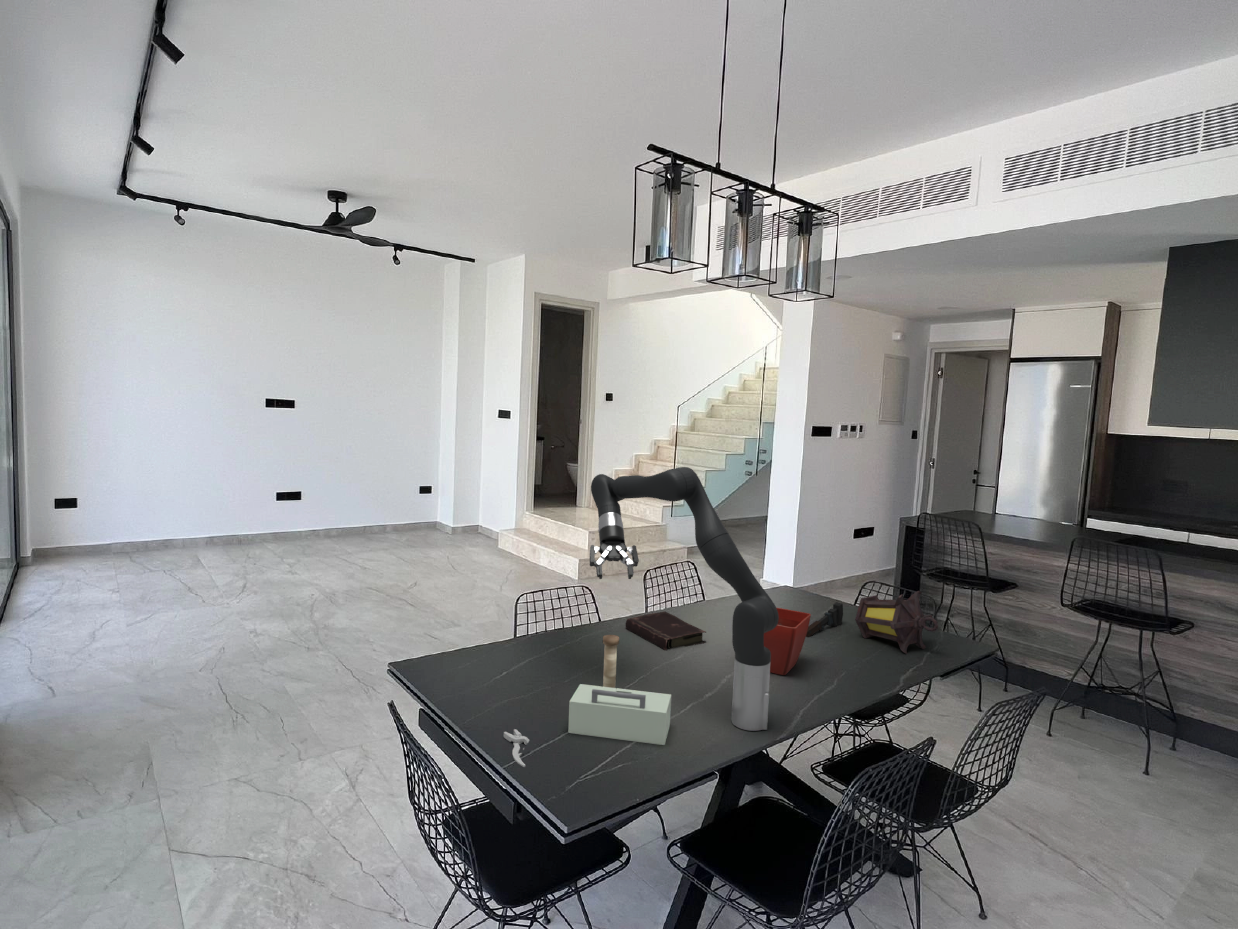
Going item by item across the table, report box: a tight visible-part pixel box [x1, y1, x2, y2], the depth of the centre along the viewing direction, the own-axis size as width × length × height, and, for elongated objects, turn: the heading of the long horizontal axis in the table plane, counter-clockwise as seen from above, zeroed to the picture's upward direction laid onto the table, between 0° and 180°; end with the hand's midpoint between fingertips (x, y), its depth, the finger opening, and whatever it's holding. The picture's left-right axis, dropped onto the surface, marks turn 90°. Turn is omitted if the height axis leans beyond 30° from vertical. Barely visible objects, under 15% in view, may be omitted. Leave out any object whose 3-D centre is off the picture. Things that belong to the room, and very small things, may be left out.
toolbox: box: [567, 683, 672, 746], centre depth 174 cm, size 24×11×12 cm, turn 79°
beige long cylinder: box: [602, 634, 620, 688], centre depth 189 cm, size 4×4×19 cm
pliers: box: [503, 728, 530, 768], centre depth 165 cm, size 10×2×15 cm
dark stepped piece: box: [805, 601, 844, 638], centre depth 263 cm, size 8×3×25 cm
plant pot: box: [764, 607, 812, 676], centre depth 223 cm, size 19×19×17 cm
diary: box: [625, 611, 707, 652], centre depth 249 cm, size 19×25×5 cm
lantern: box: [855, 590, 939, 655], centre depth 248 cm, size 21×23×30 cm
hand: (615, 577), depth 199 cm, fingers open, 8 cm apart
